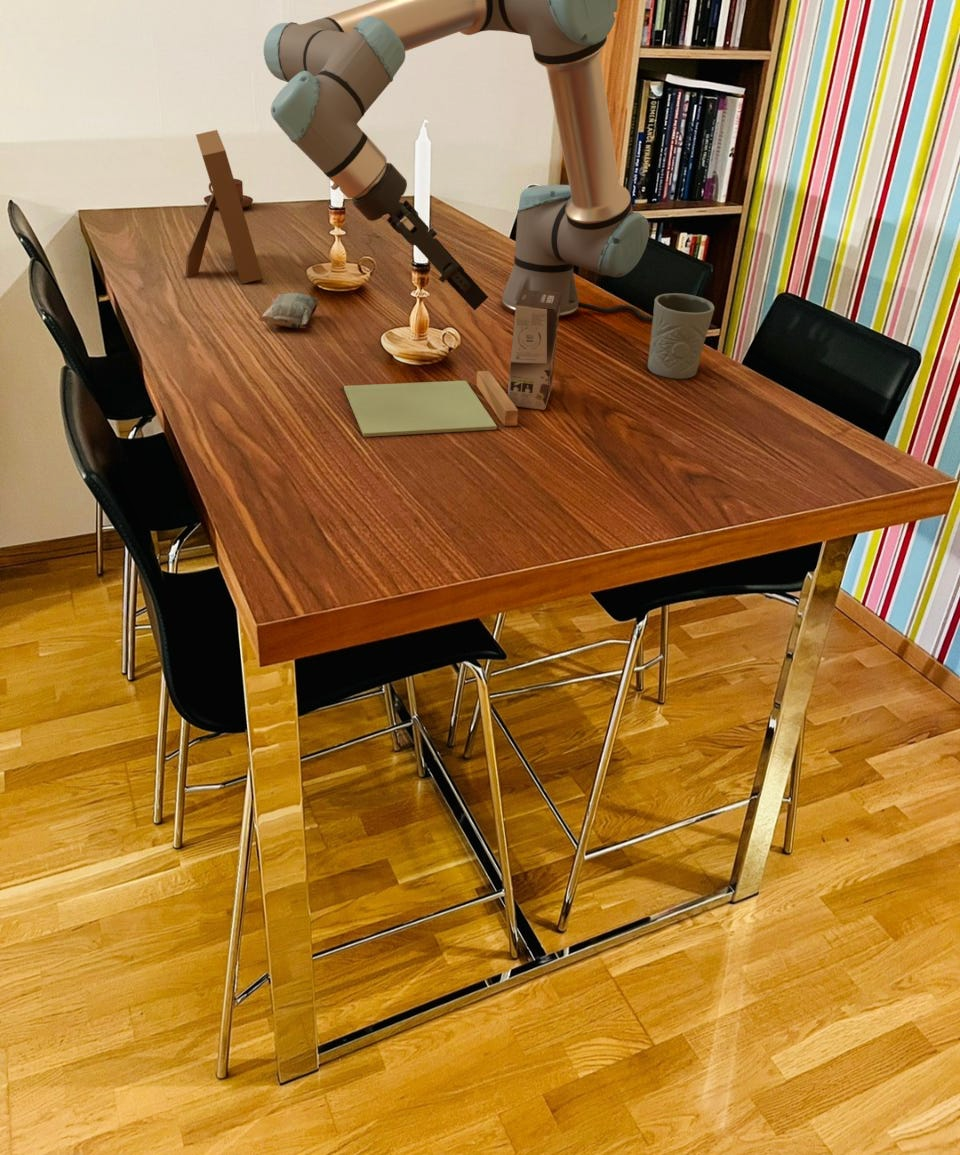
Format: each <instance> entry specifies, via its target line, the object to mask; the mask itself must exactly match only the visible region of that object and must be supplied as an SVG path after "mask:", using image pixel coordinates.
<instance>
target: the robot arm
mask: <svg viewBox="0 0 960 1155" xmlns="http://www.w3.org/2000/svg"><path fill="white" fill-rule="evenodd" d="M618 7H619V0H373V1H370V2H367V3H364V4H361V5H357V6H354V7H352V8H349V9H345V10H342V11H340V12H337V13H334V14H331V15H328V16H325V17H322V18H321V17H320V18H318V19H315V20H311V21H309V22H306V23H300V24H299V23H297V22H293V21H289V22H280V23H277V24H276V25H274V26H273V27H271V29H269V31H268V32H267V35H266V36H265V39H264V43H263V58H264V63H265V64H266V68H267V69H268V70H269V72H270V73H271V74H272V76H274V77H275V78H277V80H280V81H284V82H285V83H286V84H285V86H283V87H282V88H281V90H280V91H279V92H278V93H277V95H275V97H274V99H273V101H272V103H271V105H270V114H271V115H270V116H271V117H272V118H273V120H274V121H275V122H276V124H277V125H278V127H279V128H280V129H281V130H282V131H283V132H284V134H285V135H286V136H287V138H288V139H289V140H290V141H291V142H292V143H294V144H295V145H296V146H297V147H298V148H299V149H300V150H301V151H302V153H303V154H304V155H306V157H308V158H309V159H310V160H311V161H312V163H314V165H315V166H316V167H317V168H318V169H320V171H321V172H322V173H323V174H324V175H325V176H326V178H328V179H329V180H330V181H331V182H332V183H331V184H330V188H331V189H332V191H336V190H337V189H339V191H340V192H341V193H342V194H343V195H344V196H345V197H346V198H347V199H351V201H352V205H353V206H354V207H355V208H356V209H357V210H358V211H359V212H360V213H361V214H362V216H364V218H365V219H367V221H371V222H374V221H377V220H380V219H381V218H383V217H384V216H385V215H388V216H389V217H387V219H386V221H387V223H388V224H389V225H390V227H392V229H393V230H394V231H395V232H396V233H397V234H399V235H401V236H402V237H403V239H405V240H406V241H407V243H408V244H409V245H410V246H415V247H416V248H417V249H418V250H419V251H420V252H421V254H422V255H423V256H424V257H425V258H426V260H428V261H429V262H430V263H431V265H432V266H433V267H434V268H435V269H436V270H437V271H438V272H439V273H440V274H441V275H440V276H439V277H438V280H439V281H440V282H441V283H442V284H443V283H444V282H447V283H448V284H449V285H450V286H451V287H452V288H453V289H454V290H455V291H456V293H457V294H459V296H460V297H462V299H463V300H464V301H465V302H466V303H467V304H468V305H469V307H470V308H471V309H472V310H473V311H476V310H477V309H478V308H479V307H480V306H481V305H483V303H485V301H486V300H487V299H488V298H489V296H488V294H486V293H485V291H484V290H483V289H482V288H481V287H480V286H479V285H478V284H477V283H476V281H474V279H473V278H472V277H471V276H470V275H469V274H468V273H467V272H466V270H465V269H464V267H463V266H462V265H461V264H460V263H459V262H458V261H457V260H456V258H455V257H454V256H453V255H452V254H451V253H450V252H449V250H447V249H446V248H445V247H444V245H443V244H442V243H441V242H440V241H439V240H438V239H437V238H436V236H437V235H438V233H437V232H436V231H435V230H434V229H433V228H429V226H428V225H427V223H426V222H425V221H424V220H423V219H422V218H421V217H420V216H419V212H418V211H417V210H416V209H415V208H414V206H412V204H411V203H410V202H409V201H408V200H407V199H406V200H404V201H403V202H402V201H401V198H402V197H403V196H404V194H405V193H406V190H407V188H408V182H407V179H406V178H405V177H404V176H403V175H402V173H401V172H400V171H398V169H397V168H396V167H395V165H393V164H392V163H391V162H387V156H386V155H385V154H384V153H383V152H382V151H381V149H380V148H379V147H378V146H377V145H376V144H375V143H374V141H373V140H372V139H371V138H370V137H369V136H368V135H367V133H365V132H364V131H363V129H361V127H360V126H359V125H358V123H359V122H360V120H362V118H363V117H364V116H365V114H366V112H367V111H368V110H369V109H370V108H371V106H372V105H373V104H374V103H375V102H376V100H377V99H378V98H379V97H380V96H381V95H382V93H383V92H384V91H385V90H386V88H387V87H388V86H389V85H390V84H391V83H392V82H393V81H394V78H395V76H396V74H397V73H398V71H399V70H400V68H401V67H402V65H403V64H404V63H405V61H406V60H405V59H406V52H408V51H410V50H413V49H416V48H419V47H421V46H425V45H427V44H430V43H433V42H436V41H438V40H440V39H443V38H446V37H449V36H451V35H454V34H458V33H460V34H461V35H466V36H472V35H475V34H478V33H481V32H487V31H493V32H494V31H495V32H505V33H506V32H507V33H511V34H518V35H524V36H529V39H530V43H531V49H532V53H533V57H534V60H535V62H537V63H538V64H539V65H541V66H543V67H545V68H546V73H547V80H548V84H549V88H550V94H551V99H552V105H553V110H554V115H555V119H556V120H555V121H556V124H557V125H556V126H557V130H558V135H559V140H560V146H561V150H562V155H563V160H564V165H565V170H566V175H567V180H568V184H544V185H542V184H541V185H535V186H529V187H526V188H525V189H523V190H522V191H521V193H520V196H519V202H518V208H517V210H516V213H517V215H516V230H515V246H514V260H513V267H512V270H511V272H510V274H509V277H508V279H507V282H506V285H505V288H504V290H503V293H502V296H501V307H502V309H504V310H505V311H506V312H508V313H510V314H513V315H515V307H516V306H515V305H516V303H517V301H518V298H519V296H520V294H521V292H522V290H523V289H525V290H533V291H537V290H538V291H549V292H558V293H562V295H561V303H560V313H559V320H563V319H567V318H571V317H573V316H575V315H576V314H578V312H579V308H580V309H581V308H582V309H585V310H589V311H593V312H596V313H599V314H613V313H616V312H619V311H628V312H631V313H632V314H634V315H635V316H637V317H638V318H639V319H640V320H642V321H644V322H648V323H653V316H648V315H646V314H643V313H642V312H641V311H640V310H639V309H638V308H637V307H634V306H631V305H627V304H619V305H615V306H611V307H600V306H596V305H594V304H589V303H585V302H582V301H581V302H580V301H579V295H578V289H577V285H576V279H575V274H574V266H575V267H578V268H581V269H584V270H587V271H589V272H593V273H596V274H598V275H600V276H607V277H612V278H621V277H625V276H626V275H627V274H629V273H631V271H633V270H634V268H635V267H636V266H637V264H638V263H639V262H640V260H641V258H642V257H643V254H644V252H645V250H646V248H647V245H648V240H649V236H650V225H649V221H648V219H647V218H646V216H645V215H643V214H642V213H640V212H639V211H638V212H634V209H633V205H632V204H633V203H632V198H631V194H630V191H629V190H628V189H627V188H626V187H625V186H622V185H621V184H620V178H619V172H618V164H617V158H616V153H615V151H616V150H615V146H614V139H613V132H612V126H611V119H610V114H609V107H608V101H607V93H606V87H605V80H604V74H603V69H602V61H601V52H602V51H603V49H604V48H605V46H606V45H607V42H608V36H609V34H610V32H611V31H612V29H613V27H614V24H615V22H616V16H615V13H616V12H617V11H618Z"/></svg>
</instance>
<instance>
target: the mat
mask: <svg viewBox="0 0 960 1155" xmlns="http://www.w3.org/2000/svg"><path fill="white" fill-rule="evenodd" d="M343 390H344V393H345V394H346V397H347V400H348V403H349V405H350V407H351V409H352V412H353V415H354V417H355V419H356V421H357V425H358V427H359V429H360V431H361V434H362V436H363V438H370V437H372V438H373V437H387V436H405V435H421V434H422V435H423V434H424V435H425V434H439V433H440V434H441V433H460V432H474V431H475V432H477V431H494V430H497V428H498V426H497V424H496V422H495V421H494V420H493V418H492V416H491V415H490V414H489V412H488V411H487V409H486V408H485V406H484V405H483V404H482V402H481V400H480V399H479V397H478V396H477V394H476V393H475V392H474V390H473V388H472V387H471V386H470V385H469V383H468V381H467V380H447V381H425V382H424V381H423V382H401V383H399V382H398V383H378V384H377V383H376V384H357V385H356V384H353V385H352V384H351V385H343Z"/></svg>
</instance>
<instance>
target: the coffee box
mask: <svg viewBox="0 0 960 1155" xmlns="http://www.w3.org/2000/svg"><path fill="white" fill-rule="evenodd" d="M561 295H562V293H558V292H549V291H538V290H537V291H533V290H525V289H523V290H522V292H521V294H520V296H519V298H518V301H517V303H516V305H515V306H516V307H515V314H514V318H513V330H512V340H511V342H512V343H511V352H510V354H511V355H510V364H509V365H510V366H509V375H508V376H509V377H508V378H509V379H508V388H507V396H508V397H509V398H510V400H511V401H512V402H513V404H514V405H515V407H517V408H518V407H519V408H526V409H532V410H540V411H544V410H546V409H547V405H548V401H549V399H550V396H551V392H552V388H553V378H554V369H555V361H556V360H555V359H556V351H557V341H558V340H557V339H558V330H559V320H560V319H559V313H560V303H561Z"/></svg>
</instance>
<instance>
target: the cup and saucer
mask: <svg viewBox="0 0 960 1155" xmlns="http://www.w3.org/2000/svg"><path fill="white" fill-rule="evenodd" d="M234 182H235V185H236V188H237V192H238V195H239V199H240V202H241V205H242V209H244V208H247V207H249V206H250V205H252V204H253V202H254V198H252V197H251V196H249V195H245V194H244V189H243V188H244V187H243V184H244V183H243V180H241V179H238V178H234ZM208 191H209V192H210V194H209V195H206V196H205V197H203V201H204V203H206V204H207V205H208V202H209V200H210V198H211V195H212V193H213V189H212V186H211V182H210V181H209V184H208ZM215 209H219V208H218V205H217V202H216V205H215Z"/></svg>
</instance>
